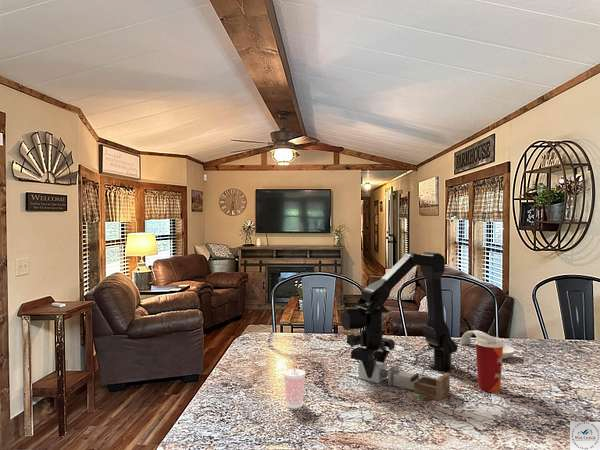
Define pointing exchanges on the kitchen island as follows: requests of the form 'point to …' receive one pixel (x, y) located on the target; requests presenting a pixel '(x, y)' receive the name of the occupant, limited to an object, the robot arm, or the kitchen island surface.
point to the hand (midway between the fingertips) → (373, 375)
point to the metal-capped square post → (403, 378)
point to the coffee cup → (489, 362)
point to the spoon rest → (466, 338)
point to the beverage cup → (294, 386)
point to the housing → (432, 388)
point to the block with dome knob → (374, 372)
